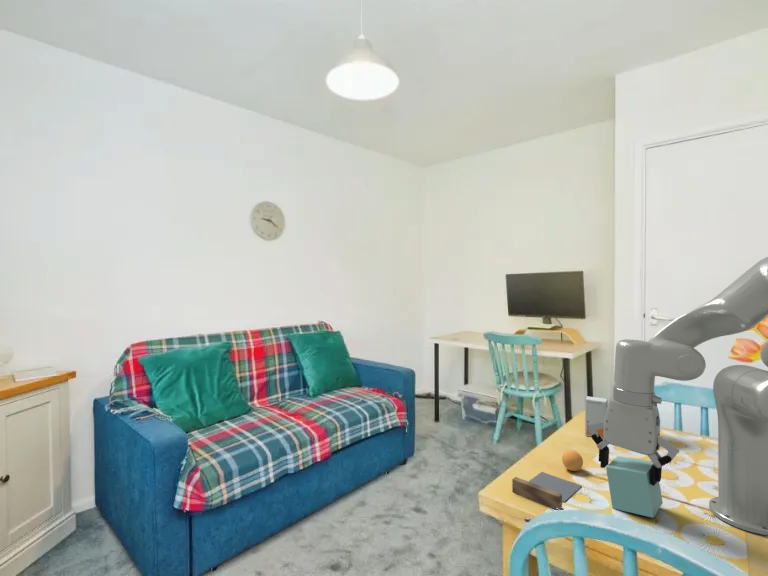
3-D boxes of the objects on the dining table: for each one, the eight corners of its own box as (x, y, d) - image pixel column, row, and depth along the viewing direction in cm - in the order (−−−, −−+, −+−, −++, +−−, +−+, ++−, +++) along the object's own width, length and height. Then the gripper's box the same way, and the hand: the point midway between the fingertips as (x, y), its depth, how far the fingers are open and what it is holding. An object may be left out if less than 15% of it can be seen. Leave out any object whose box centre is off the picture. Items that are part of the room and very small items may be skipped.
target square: (581, 486, 97) (581, 485, 97) (564, 502, 90) (564, 501, 90) (541, 472, 104) (541, 471, 104) (522, 486, 97) (522, 485, 97)
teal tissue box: (662, 503, 87) (655, 461, 88) (653, 517, 82) (646, 473, 83) (623, 495, 93) (617, 456, 94) (612, 508, 88) (606, 466, 88)
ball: (586, 470, 105) (585, 451, 105) (578, 476, 102) (578, 457, 102) (566, 463, 109) (566, 445, 109) (558, 470, 105) (558, 451, 105)
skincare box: (585, 436, 128) (584, 398, 128) (587, 431, 132) (586, 395, 131) (606, 440, 125) (606, 401, 124) (608, 435, 128) (607, 398, 128)
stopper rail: (562, 507, 88) (561, 494, 88) (558, 510, 87) (558, 496, 87) (515, 489, 96) (515, 476, 96) (512, 491, 95) (512, 479, 95)
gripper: (685, 404, 84) (680, 484, 84) (596, 385, 96) (592, 455, 97) (677, 411, 78) (671, 497, 79) (584, 390, 91) (580, 464, 91)
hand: (628, 474), depth 88 cm, fingers open, 9 cm apart
